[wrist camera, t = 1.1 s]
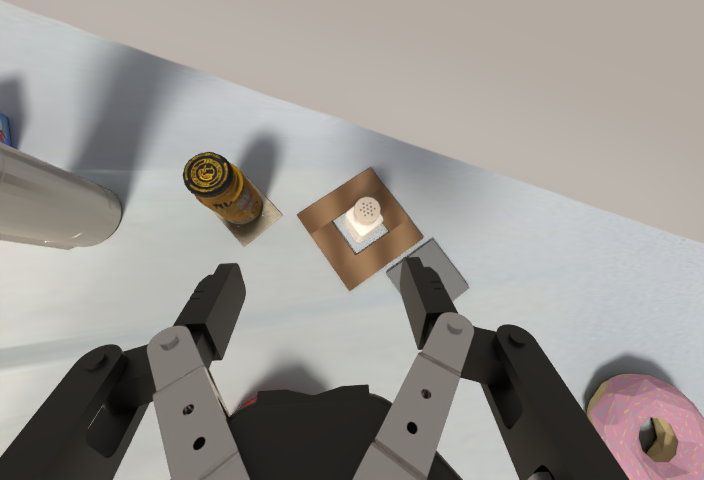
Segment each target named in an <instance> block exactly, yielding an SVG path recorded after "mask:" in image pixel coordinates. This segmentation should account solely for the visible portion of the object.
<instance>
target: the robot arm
mask: <svg viewBox="0 0 704 480" xmlns="http://www.w3.org/2000/svg"><path fill="white" fill-rule="evenodd" d="M120 218H121V205H120V202H119V200H118V198H117V197H116V196H115V194H113V193H112V192H111V191H110V190H108V189H105V188H103V187H101V186H99V185H97V184H94V183H92V182H90V181H87V180H85V179H83V178H81V177H79V176H76V175H74V174H72V173H69V172H67V171H65V170H63V169H60V168H58V167H56V166H53V165H51V164H49V163H47V162H44V161H42V160H40V159H37V158H35V157H33V156H31V155H28V154H26V153H24V152H21V151H19V150H17V149H15V148H12V147H10V146H8V145H5V144H3V143H1V142H0V240H3V241H10V242H17V243H24V244H31V245H38V246H44V247H51V248H58V249H65V250H69V249H71V248H73V247H76V246H80V247H86V246H92V245H95V244H98V243H100V242H102V241H104V240H105V239H107V238H108V237H109V236H110V235H111V234H112V233H113V232H114V231H115V230H116V228H117V226H118V224H119V222H120ZM400 292H401V295H402V299H403V302H404V305H405V309H406V312H407V315H408V318H409V322H410V325H411V328H412V332H413V335H414V338H415V342H416V345H417V348H418V350H422V352H421V353H420V352H419V353H418V355H417V357H416V359H415V361H414V362H413V364H412V366H411V368H410V370H409V372H408V374H407V376H406V378H405V380H404V382H403V384H402V386H401V388H400V390H399V392H398V394H397V396H396V398H395V400H394V402H393V403H391V402H390V401H388V400H387V399H385V398H383V397H381V396H378V395H375V394H372V393H369V386H368V385H354V386H341V387H338V388H335V389H332V390H329V391H326V392H323V393H320V394H317V395H308V394H303V393H298V392H294V391H289V390H275V391H259V392H258V395H257V399H256V401H254V402H252V403H250V404H248V405H246V406H244V407H242V408H240V409H239V410H237V411H236V412H235V413H233V414H232V415H231V416H230V415H229V412H228V410H227V408H226V406H225V404H224V402H223V399H222V397H221V395H220V392H219V390H218V388H217V386H216V383H215V381H214V379H213V376H212V374H211V372H210V370H209V367H210V364H211V362H212V361H215V360H222V359H223V357H224V354H225V351H226V348H227V346H228V343H229V340H230V338H231V335H232V332H233V330H234V327H235V324H236V322H237V319H238V316H239V314H240V311H241V308H242V305H243V303H244V300H245V296H246V289H245V284H244V281H243V278H242V274H241V271H240V268H239V265H238V264H237V263H228V264H219V266H218V267H217V269H216V271H215V273H214V274H213V275H208V276H207V277H205V278H204V279H203V280H202V281H201V282H199V284H198V286H197V287H196V289H195V290H194V293H193V294H192V295H191V297H190V300H188V302H187V304H186V305H185V307H184V308H183V310H182V312H181V313H180V315H179V317H178V318H177V320H176V322H175V323H174V325H173V326H172V327H169V328H167V329H164V330H163V331H161V332H159V333H158V334H157V335H155V336H154V337H153V338H152V339H151V341H150V342H149V344H147V345H144V346H141V347H138V348H134V349H131V350H128V351H124V352H123V351H122V349H121V348H120V347H119V346H117V345H113V344H110V345H104V346H101V347H98V348H96V349H93V350H92V351H90V352H88V353H87V354H85V355H84V356H82V357H81V358H80V359H79V360H78V361H77V362H76V363H75V364H74V365H73V367H72V368H71V369H70V370H69V372H68V373H67V374H66V375H65V377H64V378H63V379H62V380H61V382H60V383H59V384H58V386H57V387H56V388H55V389H54V391H53V392H52V393H51V394H50V396H49V397H48V398H47V399H46V401H45V402H44V403H43V404H42V406H41V407H40V408H39V409H38V411H37V412H36V413H35V414H34V416H33V417H32V418H31V419H30V421H29V422H28V423H27V424H26V426H25V427H24V428H23V429H22V431H21V432H20V433H19V435H18V436H17V437H16V438H15V440H14V441H13V442H12V443H11V445H10V446H9V447H8V448H7V450H6V451H5V452H4V453H3V455H2V456H1V457H0V480H113V478H114V476H115V474H116V472H117V470H118V468H119V465H120V463H121V461H122V459H123V457H124V455H125V453H126V451H127V449H128V447H129V445H130V443H131V441H132V438H133V436H134V434H135V432H136V430H137V428H138V426H139V424H140V422H141V420H142V418H143V416H144V414H145V411H146V409H147V407H148V405H149V403H150V402H153V401H154V406H155V410H156V414H157V419H158V423H159V428H160V432H161V436H162V441H163V445H164V450H165V454H166V458H167V463H168V467H169V471H170V476H171V480H463V479H462V478H461V477H460V476H459V475H458V474H457V473H456V472H455V471H454V469H453V468H452V467H451V466H450V465H449V464H448V463H447V462H446V461H445V459H444V458H443V457H442V456H441V455H440V454H439V453H438V452H437V451H436V449H437V446H438V443H439V440H440V437H441V434H442V431H443V428H444V425H445V422H446V419H447V416H448V413H449V410H450V407H451V404H452V401H453V398H454V395H455V391H456V388H457V385H458V382H459V379H460V378H464V379H468V380H472V381H476V382H479V383H480V384H481V386H482V389H483V391H484V393H485V396H486V398H487V401H488V403H489V406H490V408H491V411H492V413H493V416H494V418H495V421H496V423H497V425H498V428H499V430H500V433H501V435H502V438H503V440H504V443H505V445H506V448H507V450H508V452H509V455H510V457H511V460H512V462H513V465H514V467H515V470H516V472H517V475H518V477H519V480H630V479H629V478H628V476H627V475H626V474H625V472H624V471H623V469H622V468H621V466H620V465H619V463H618V462H617V460H616V459H615V457H614V456H613V454H612V453H611V451H610V450H609V448H608V447H607V445H606V444H605V442H604V441H603V439H602V438H601V436H600V435H599V433H598V432H597V430H596V429H595V427H594V426H593V424H592V423H591V421H590V420H589V419H588V417H587V416H586V414H585V413H584V411H583V410H582V408H581V407H580V405H579V404H578V402H577V401H576V399H575V398H574V396H573V395H572V393H571V392H570V390H569V389H568V387H567V386H566V384H565V383H564V381H563V380H562V378H561V377H560V375H559V374H558V372H557V371H556V369H555V368H554V366H553V365H552V363H551V362H550V361H549V359H548V358H547V356H546V355H545V353H544V352H543V350H542V349H541V347H540V346H539V344H538V343H537V341H536V340H535V338H534V337H533V336H532V335H531V334H530V333H529V332H527V331H526V330H524V329H522V328H520V327H518V326H515V325H508V324H507V325H502V326H500V327H499V328H498V329H497V332H495V331H491V330H486V329H481V328H478V327H475V326H473V325H472V324H471V322H470V321H469V320H468V319H467V318H465V317H464V316H462V315H460V314H458V312H457V310H456V308H455V306H454V304H453V302H452V300H451V298H450V296H449V294H448V292H447V290H446V289H445V287H444V285H443V283H442V281H441V279H440V277H439V275H438V273H437V272H436V271H435V270H433V269H432V268H431V267H424V266H423V264H422V262H421V259H420V258H419V257H404V258H403V261H402V268H401V275H400ZM101 406H102V407H101ZM100 408H101V409H100ZM99 410H100V411H99ZM98 411H99V412H98ZM97 413H98V414H97ZM96 415H97V416H96ZM95 416H96V417H95ZM94 418H95V419H94ZM93 419H94V420H93ZM92 421H93V422H92ZM91 423H92V424H91ZM90 424H91V425H90ZM89 426H90V427H89ZM88 428H89V429H88Z"/></svg>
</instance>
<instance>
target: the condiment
mask: <svg viewBox="0 0 704 480" xmlns="http://www.w3.org/2000/svg"><path fill="white" fill-rule="evenodd" d="M183 179H184V183H185V185H186V187H187V188H188V190H189V191H191V193H193V194H194V195H195V196H196V198H197V199H198V200H199V201H200V202H201V203H202V204H203V205H205V206H206V207H208V208H210V209H211V210H212V211H213V212H214V213H215V214H216V215H217V216H218V217H219V219H220V220H221V221H222V222H223V223H224V224H225V225H226V227H227V228H228V229H229V230H230V231H231V232H232V233H233V235H234V236H235V237H236V238H237V239H238V240H239V242H240V243H241V244H242V245H243V246H244V247H245V246H246V245H247V244H248V243H250V242H251V241H252V240H253V239H255V238H256V237H257V236H258V235H260V234H261V233H262V232H263V231H264V230H266V229H267V228H268V227H269V226H270V225H272V224H273V223H274V222H275V221H276V220H277V219H279V218H280V217H281V216H282V214H281V213H280V212H279V211H278V210H277V209H276V208H275V207H274V206H273V205H272V203H271V202H270V201H269V200H268V199H267V198H266V197H265V196H264V195H263V194H262V192H261V191H260V190H259V189H258V188H257V187H256V186H255V185H254V184H253V183H252V181H251V180H250V179H249V178H248V177H245V176H244V175H243V174H242V172H241V171H240V170H239V169H238V168H237V167H236V166H234V165H233V164H231V163H229V162H228V161H227V159H225V158H224V157H222V156H221V155H218V154H215V153H213V152H205V153H201V154H198V155H196V156H195V157H193V158H192V159H190V160H189V161H188V163H187V164H186V166H185V168H184V172H183ZM262 212H263V213H262ZM262 215H264V216H262ZM238 226H239V227H238Z"/></svg>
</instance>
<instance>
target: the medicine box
mask: <svg viewBox="0 0 704 480" xmlns="http://www.w3.org/2000/svg"><path fill="white" fill-rule="evenodd" d="M0 142H1V143H3V144H5V145H8V146H10V147H12V146H11V139H10V133H9V125H8V118H7V116H5V115H3V114H1V113H0Z"/></svg>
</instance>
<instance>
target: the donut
mask: <svg viewBox="0 0 704 480" xmlns="http://www.w3.org/2000/svg"><path fill="white" fill-rule="evenodd" d="M587 417H588V419H589V420H590V421H591V423H592V424H593V426H594V427H595V429H596V430H597V432H598V433H599V435H600V436H601V438H602V439H603V441H604V442H605V444H606V445H607V447H608V448H609V450H610V451H611V453H612V454H613V456H614V457H615V459H616V460H617V462H618V463H619V465H620V466H621V468H622V469H623V471H624V472H625V474H626V475H627V476H628V478H629V479H630V480H704V418H703V416H702V415H701V413H700V412H699V410H698V409H697V408H696V406H695V405H694V403H692V402H691V401H690V400H689V399H688V398H687V397H686V396H685V395H683V394H682V393H681V392H680V391H679V390H678V389H677V388H676V387H674V386H672V385H670V384H668V383H666V382H664V381H661V380H659V379H657V378H655V377H653V376H651V375H643V374H620V375H617V376H615V377H612V378H610V379H609V380H607V381H605V382H603V383H602V384H601V385H600V387H599V388H598V390H597V391H596V393H595V394H594V396H593V397H592V399H591V400H590V402H589V405H588V409H587ZM649 417H652V418H653V423H654V427H655V431H656V436H657V439H656V440H655V441H654V443H653V444H652V446H651V447H650V448H649V450H648V451H647V453H646V454H645V453H644V452H643V451H642V448H641V444H640V441H639V431H640V426H641V425H642V424H643V423H644V422H645V421H646V420H647V419H648V418H649Z"/></svg>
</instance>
